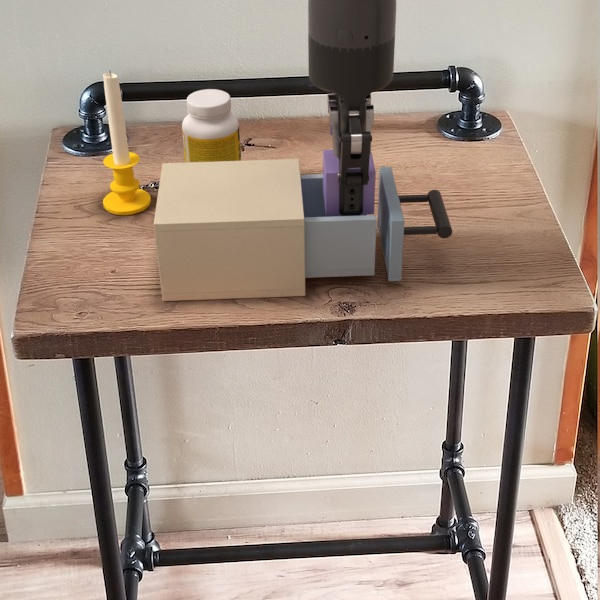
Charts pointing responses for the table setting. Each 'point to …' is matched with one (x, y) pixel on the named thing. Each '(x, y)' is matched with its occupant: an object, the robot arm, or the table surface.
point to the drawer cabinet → (230, 230)
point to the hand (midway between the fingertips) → (348, 199)
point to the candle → (121, 158)
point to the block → (333, 185)
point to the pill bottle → (210, 128)
